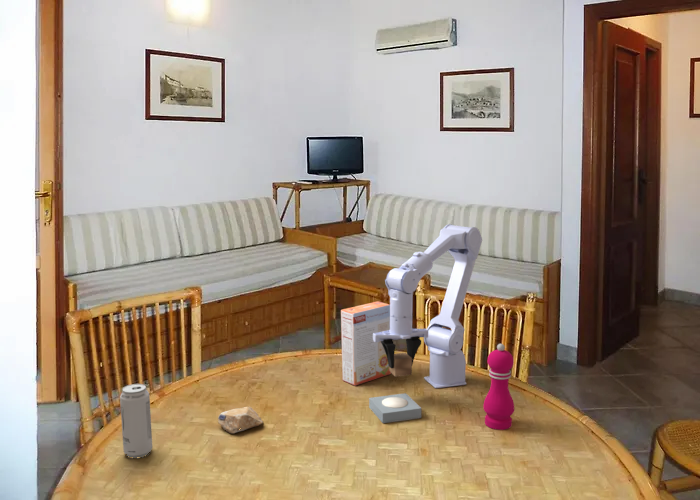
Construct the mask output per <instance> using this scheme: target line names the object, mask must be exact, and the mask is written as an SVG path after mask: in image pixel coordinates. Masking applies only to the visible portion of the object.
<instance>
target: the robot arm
mask: <svg viewBox="0 0 700 500" xmlns="http://www.w3.org/2000/svg"><path fill="white" fill-rule="evenodd" d="M481 234H482V233H481V232H480V229H478V227H476V226H475V227H474V226H471V227H470V226H463V225H456V224H452V223H451V224H450V223H447V224H446V225H445V226H444V227H443V228H441V229H440V231H439V234H438V235H439V236H438V237H436V239H435V240H434V241H433V242H431V244H430V245H429V246H428V247H427V248H426V250H424V251H415V252H414V253H413V254H412V256H411V257H410V258H409V259H407V260H406V261H405V262H403V264H401V265H400V267H399V268H398V267H394V268H392V269H390V270H389V271H388V273H387V274H386V278H385V279H384V282H385V286H386V288H387V290H388V293H387V294H388V296H389V297H390V298H389V305H390V330H387V331H383V332H378V333H373V341H374V342H379V341H381V344H382V346H383V348H384V350H385V353H386V356H387V360H388V365H389V367H390V368H394V354H395V350H396V344H395V343H394V341H398V340H405V343H406V353H407V354H408V355H409V356H410V357H411V358H412V365H413V364H414V360H415V357H416V354H417V352H418V350H419V348H420V347H421V345H422V339H420V338H423V341H424V344H425V346H426V347H427V350H428V351H429V375H427V376H424V377H423V379H424V381H426V382H427V383H429V384H430V385H431V386H432V387H433V388H434V389H440V388H448V387H457V386H464V385H467V382H466V370H467V368H466V364H467V363H466V356H465V353H464V352H463V351H462V350H461V349H462V347H463V345H464V333H465V328H464V326H463V325H462V323H461V322H460V320H459V319H460V316H461V312H462V309H463V305H464V301H465V298H466V295H467V292H468V288H469V284H470V281H471V277H472V274H473V271H474V267H475V264H476V260H477V259H478V257H479V253H480V249H481V247H482V246H481V245H482V242H483V237H482V235H481ZM447 252H448V253H449V254H450V256H452V257H453V260H454V264H453V268H452V272H451V274H450V278H449V281H448V284H447V288H446V291H445V294H444V299H443V302H442V305H441V309H440V312H439V314H437V315H436V316H435V317H433V318H432V319H431V320H430V322H429V324H428V326H427V328H413V295H414V292H415V291H416V289H417V288H418V284H419V283H420V281H421V279H422V278H423V277H424V276H425V275H427V273H429V271H431V270H433V262H434V261H436V260H438V259H439V258H440V257H441V256H443V255H444V254H445V253H447Z"/></svg>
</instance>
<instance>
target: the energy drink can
mask: <svg viewBox="0 0 700 500" xmlns="http://www.w3.org/2000/svg"><path fill="white" fill-rule="evenodd" d="M150 397H151V396H150V392H149V391H148V390H147V386H146V385H145V384H142V383H134V384H133V383H132V384H128V385H125V386H124V387H122V391H121V394H120V396H119V403H120V419H121V431H122V446H123V447H122V448H123V454H125V455H126V454H127V455H126V457H127V456H129V457H133V458H137V457H142V458H144V457H143V456H145V455H147V454H148V453H149V452H150V453H151V450H152V449H153V434H152V433H153V432H152V419H151V418H152V417H151V416H152V414H151V399H150ZM150 453H149V454H150ZM149 454H148V455H149ZM148 455H147V456H148ZM129 457H128V458H129ZM145 457H146V456H145ZM133 458H132V459H133ZM137 459H138V458H137Z"/></svg>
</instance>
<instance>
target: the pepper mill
mask: <svg viewBox="0 0 700 500" xmlns="http://www.w3.org/2000/svg"><path fill="white" fill-rule="evenodd" d="M496 348H497V349H494V350H492V351H490V353H489V354H488V356H487V363H486V364H487V365H488V366H489V367H488V368H490V369H489V370H488V371H489V373H488V376H489V377H490V380H491V381H490V388H489V390H488V392H487V394H486V396H485V398H484V401H483V404H482V405H483V406H482V407H483V411H484V412H485V414H486V415H485V416H484V424H485V427H488V428H490V429H492V430H498V431H499V430H500V431H501V430H502V431H503V430H508V429H510V428H511V427H512V426H513V424H512V423H513V422H512V421H513V418H512V415H513V414H514V412H515V403H514V399H513V397H512V395H511V392H510V388H509V380H510V379H511V377H512V375H511V373H512V371H511V369H512V368H513V366H514V363H515V361H514V357H513V355H512V354H511V352H510V351H508V350H506V349H505V348H506V346H505V345H504V344H503V343H498V344H497V346H496Z"/></svg>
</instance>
